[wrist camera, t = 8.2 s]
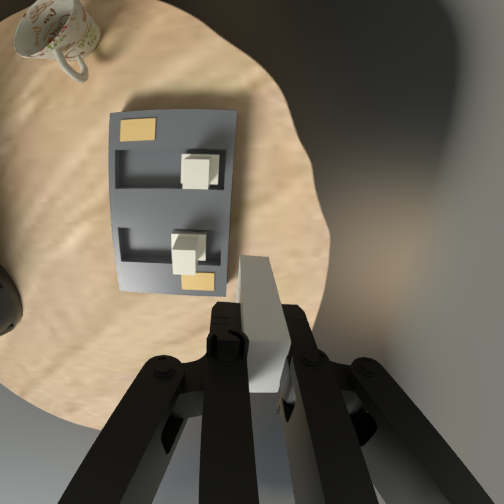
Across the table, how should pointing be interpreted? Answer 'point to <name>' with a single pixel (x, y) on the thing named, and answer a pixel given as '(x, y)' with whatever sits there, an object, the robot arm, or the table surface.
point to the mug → (58, 34)
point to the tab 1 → (199, 170)
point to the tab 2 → (187, 250)
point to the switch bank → (168, 197)
